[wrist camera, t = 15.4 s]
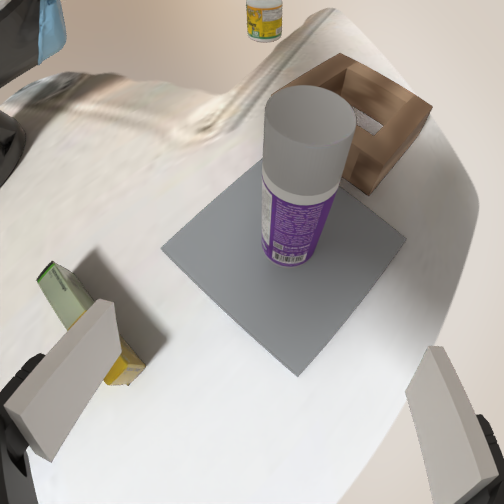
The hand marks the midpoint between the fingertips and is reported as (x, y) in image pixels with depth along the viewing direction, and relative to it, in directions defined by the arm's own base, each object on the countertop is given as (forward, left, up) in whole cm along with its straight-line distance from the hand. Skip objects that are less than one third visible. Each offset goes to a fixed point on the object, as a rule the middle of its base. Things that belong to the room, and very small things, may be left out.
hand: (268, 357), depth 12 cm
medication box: (-13, -8, -13) cm, 20 cm away
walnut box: (-10, +25, -13) cm, 30 cm away
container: (-6, +9, -13) cm, 17 cm away
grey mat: (-6, +9, -13) cm, 17 cm away
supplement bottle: (-32, +35, -13) cm, 49 cm away
